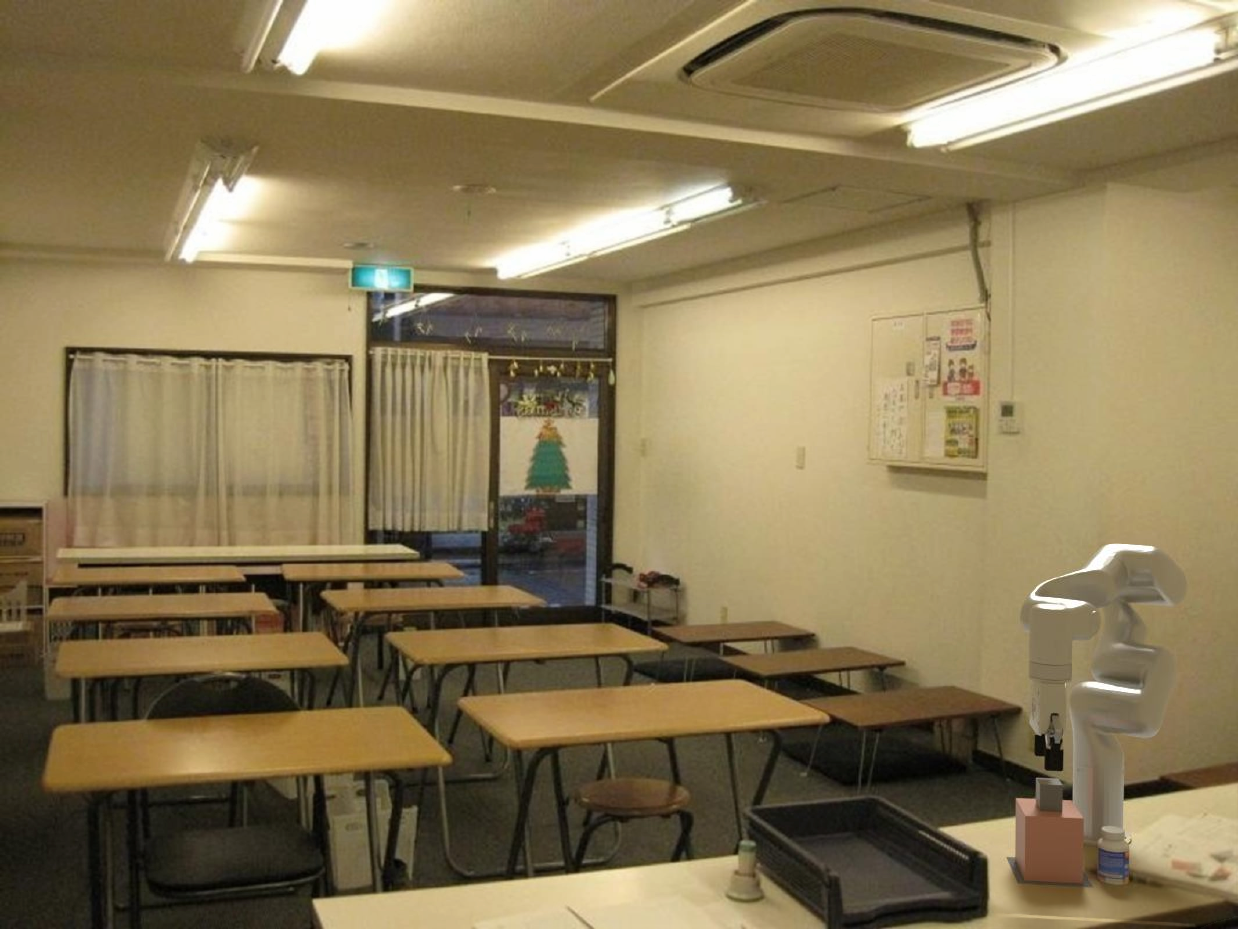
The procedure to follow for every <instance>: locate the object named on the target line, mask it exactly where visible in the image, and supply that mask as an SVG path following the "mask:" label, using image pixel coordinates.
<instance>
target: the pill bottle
mask: <svg viewBox="0 0 1238 929" xmlns="http://www.w3.org/2000/svg"><path fill="white" fill-rule="evenodd" d="M1125 830H1126V829H1124V828H1123V829H1122V828H1120V827H1116V826H1104V827H1102V828H1101V835H1102V837H1103V838H1100V839H1099V840H1098V843H1097V846H1096V848H1097V879H1098V881H1101V882H1103V883H1105V884H1109V885H1116V886H1117V885H1118V886H1119V885H1126V884H1128V883H1129V882H1130V878H1129V877H1130V844H1128V843H1127V842H1126V841H1125V840H1123V839H1124V838H1125Z"/></svg>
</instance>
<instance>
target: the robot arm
mask: <svg viewBox="0 0 1238 929" xmlns="http://www.w3.org/2000/svg"><path fill="white" fill-rule="evenodd" d="M1187 588H1188V584H1187V578H1186V575H1185V573H1184V570H1183V569H1182V568H1181V566H1180V565H1179V564H1178V563H1177V562H1176V561H1175V560H1174V559H1173V557H1171V556H1170V555H1169V554H1168V553H1167V552H1166V551H1164V550H1162V549H1161V548H1158V547H1155V546H1152V545H1151V546H1150V545H1138V544H1125V543H1123V544H1122V543H1111V544H1110V543H1109V544H1106V545H1103V546H1101V547H1100V548H1098V550H1096V551H1095V553H1093V554H1092V556H1090V558H1089V559H1088V560H1087V561H1086V562H1085V563H1084V564H1083V566H1082V567H1081V568H1080V569H1079V570H1078V571H1074V572H1070V573H1068V574H1064V575H1062V576H1057V577H1054V578H1052V579H1048V580H1046V581H1043V582H1042V583H1040V584H1039V585H1037V586H1036V587H1035V588H1034V589H1033V590H1032V591H1031V592H1030V593H1029V594H1028V596H1027V597H1026V598H1025V600H1024V602H1023V603H1022V605H1021V608H1020V612H1019V621H1020V624H1021V627H1022V628H1023V629H1024V631H1025V632H1026V633H1028V636H1029V637H1028V679H1029V680H1032V681H1031V690H1030V703H1029V704H1030V705H1029V725H1030V727H1031V728H1032V730H1034V733H1035V734H1034V745H1033V746H1034V751H1033V752H1034V755H1035V756H1036V757H1044V760H1043V761H1044V767H1043V769H1044V770H1045V771H1046V772H1047V771H1048V772H1063V771H1064V752H1065V751H1064V741H1063V740H1064V739H1063V737H1064V736H1065V735H1066V732H1067V731H1066V730H1067V729H1066V728H1067V687H1066V686H1067V684H1068V683H1070V682H1072V674H1073V672H1072V670H1073V659H1072V658H1073V642H1084V641H1085V642H1086V641H1089V640H1091V639H1092V638H1094V637H1095V636H1096V635H1097V634H1098V632H1099V630H1100V628H1101V624H1102V618H1101V614H1100V611H1099V609H1100V608H1102V612H1103V617H1104V623H1103V627H1102V630H1101V633H1100V636H1099V639H1098V642H1097V644H1096V647H1095V649H1094V653H1093V656H1092V659H1091V665H1090V672H1091V676H1092V678H1093V679H1094V680H1095V681H1094V680H1092V681H1087V680H1086V681H1082V682H1080V683H1077V684H1076V685H1074V686H1073V687H1072V689H1071V691H1070V693H1069V696H1068V709H1069V710H1068V712H1069V717H1070V721H1071V722H1070V723H1071V728H1072V742H1073V752H1072V758H1073V760H1072V802H1073V803H1074V805H1075V806H1076V808H1077V809H1078V811H1079V812H1080V813H1081V815H1082V816H1083V818H1084V845H1087V846H1091V847H1092V846H1093V847H1097V843H1098V840H1099V839H1100V838H1103V837H1102V835H1101V828H1102V827H1104V826H1116V827H1120V828H1122V829H1124V799H1125V798H1124V797H1125V796H1124V793H1125V791H1124V790H1125V789H1124V788H1125V787H1124V785H1125V784H1124V782H1125V781H1124V780H1125V779H1124V778H1125V754H1124V751H1123V748H1122V745H1121V743H1120V741H1119V740H1118V738H1117V736H1116V735H1115V734H1119V735H1124V736H1130V737H1134V738H1135V737H1136V738H1153V737H1154V736H1156V735H1157V734H1158V733H1159V731H1160V729H1161V726H1162V724H1163V721H1164V718H1165V715H1166V711H1167V707H1168V704H1169V702H1170V699H1171V696H1172V692H1173V688H1174V685H1175V682H1176V675H1177V665H1176V659H1175V657H1174V655H1173V653H1172V652H1171V651H1170V650H1169V649H1168V648H1166V647H1163V646H1159V645H1154V644H1147V643H1146V640H1147V637H1148V627H1147V625H1146V623H1145V621H1144V619H1143V618H1142V617H1141V615H1140V614H1139V612H1138V611H1136V610H1135V609H1134V607H1133V606H1132V604H1140V605H1149V606H1150V605H1152V606H1161V607H1174V606H1175V607H1176V606H1177V605H1179V604H1181V603H1182V602H1183V600H1184V599H1185V597H1186V594H1187V591H1188V590H1187ZM1131 603H1132V604H1131ZM1124 830H1125V838H1124V839H1123V840H1125V839H1126V838H1127V837H1128V836H1131V837H1132V835H1131V833H1130V832H1129V831H1127V829H1124Z"/></svg>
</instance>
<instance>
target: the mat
mask: <svg viewBox="0 0 1238 929" xmlns="http://www.w3.org/2000/svg"><path fill="white" fill-rule="evenodd" d="M1006 860H1007V862H1008V864H1009V866H1010V868H1011V871H1012V873H1013V875H1014V877H1015V879H1016V881H1017V884H1023V885H1027V884H1028V885H1041V886H1042V885H1043V886H1059V887H1060V886H1063V887H1065V886H1066V887H1082V888H1083V887H1085V888H1093V887H1094V886H1093V885H1092V883H1091V881H1090V880H1089V878H1088V876H1087V875H1086V873H1085V871H1084V870H1083V883H1064V882H1044V881H1025V880H1024V878H1023V876H1022V874H1021V871H1020V869H1019V867H1018V865H1017V863H1016V861H1015V856H1012V857H1011V856H1006Z"/></svg>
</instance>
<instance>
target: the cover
mask: <svg viewBox="0 0 1238 929" xmlns="http://www.w3.org/2000/svg"><path fill="white" fill-rule="evenodd" d="M1063 788H1064V787H1063V784H1062V782H1061V781H1060V779H1059V778H1054V777H1050V778H1049V777H1035V798H1022V797H1019V798H1018V797H1015V831H1014V832H1015V838H1014V839H1015V840H1014V841H1015V842H1014V844H1015V845H1014V847H1015V850H1014V851H1015V854H1014V857H1015V861H1016V863H1017V865H1018V867H1019V869H1020V871H1021V874H1022V876H1023V878H1024V880H1025V881H1044V882H1064V883H1083V871H1084V845H1085V844H1084V818H1083V816H1082V815H1081V813H1080V812H1079V811H1078V809H1077V808H1076V806H1075V805H1074V803H1073V799H1072V800H1071V799H1069V800H1068V799H1066V800H1065V799H1064V798H1063V795H1064V794H1063V790H1064V789H1063Z"/></svg>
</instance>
